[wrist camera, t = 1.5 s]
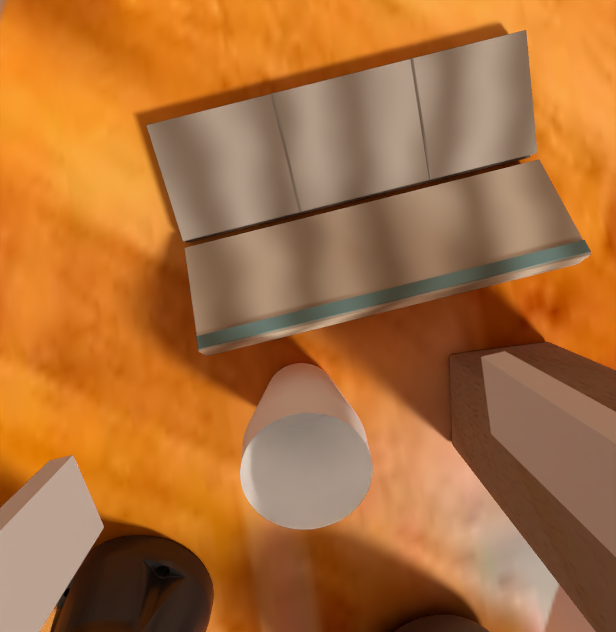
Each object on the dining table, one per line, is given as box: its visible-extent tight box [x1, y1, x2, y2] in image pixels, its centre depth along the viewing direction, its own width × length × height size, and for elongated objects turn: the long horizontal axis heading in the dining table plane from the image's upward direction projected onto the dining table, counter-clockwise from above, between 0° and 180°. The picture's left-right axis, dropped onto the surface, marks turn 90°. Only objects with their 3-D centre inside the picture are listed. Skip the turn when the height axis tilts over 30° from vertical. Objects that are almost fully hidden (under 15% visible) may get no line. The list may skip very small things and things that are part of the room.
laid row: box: [146, 30, 537, 243], centre depth 30 cm, size 30×9×2 cm, turn 104°
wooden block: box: [449, 342, 616, 632], centre depth 27 cm, size 10×10×20 cm
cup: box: [240, 363, 373, 530], centre depth 30 cm, size 9×9×12 cm
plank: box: [185, 160, 591, 356], centre depth 30 cm, size 30×9×2 cm
